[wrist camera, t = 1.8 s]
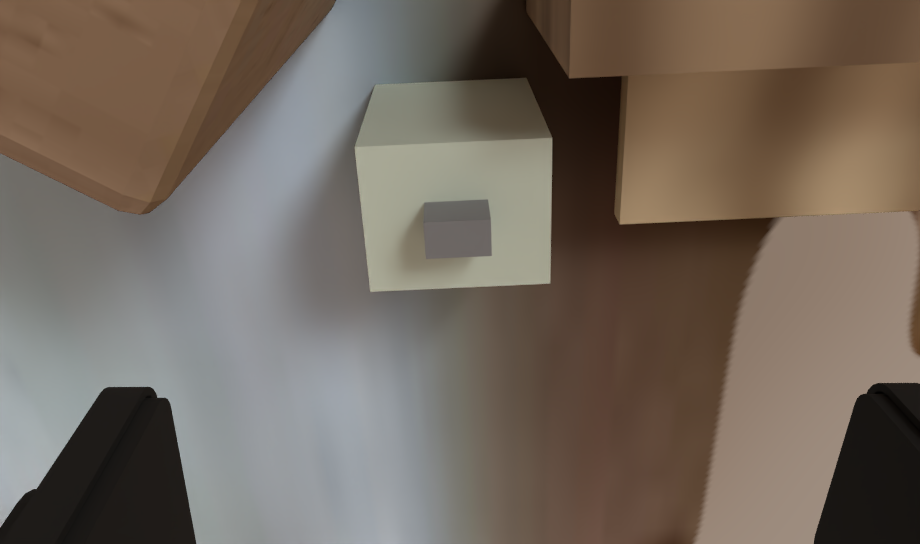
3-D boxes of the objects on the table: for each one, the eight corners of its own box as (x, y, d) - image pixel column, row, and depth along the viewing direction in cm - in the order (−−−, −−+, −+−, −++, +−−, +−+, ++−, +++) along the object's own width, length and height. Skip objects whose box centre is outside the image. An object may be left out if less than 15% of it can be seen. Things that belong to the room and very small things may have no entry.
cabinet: (526, 77, 30) (559, 154, 22) (526, 199, 33) (556, 312, 24) (375, 84, 30) (348, 164, 22) (386, 206, 33) (366, 321, 24)
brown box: (1057, -229, 26) (1434, -297, 16) (952, 165, 32) (1175, 289, 22) (526, -205, 26) (577, -257, 16) (526, 185, 32) (563, 317, 22)
